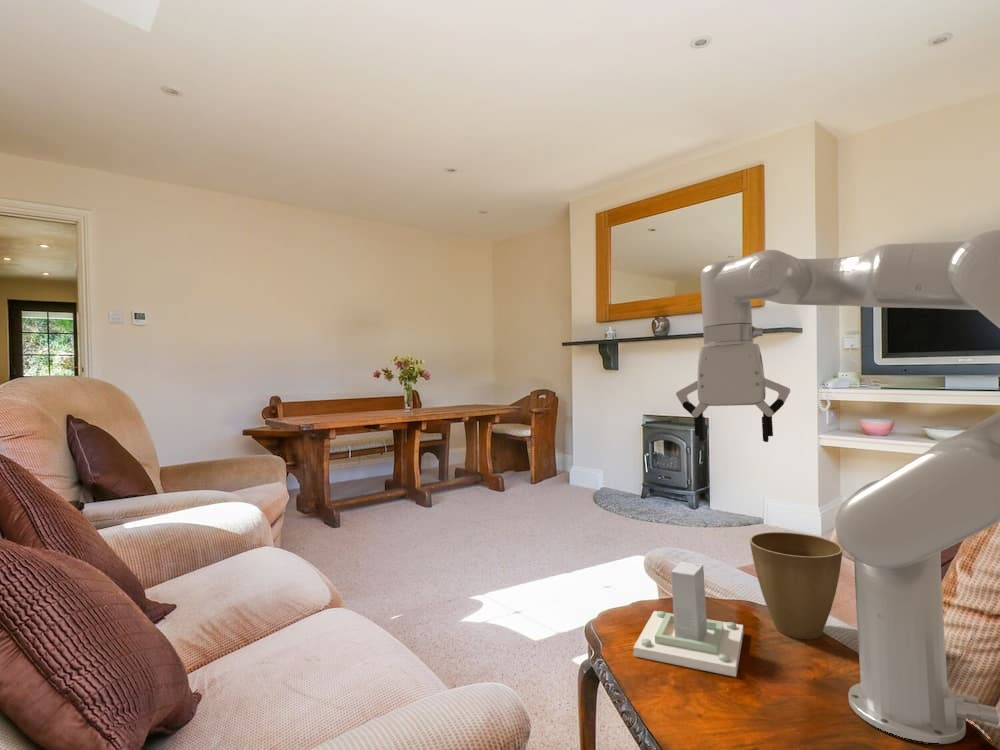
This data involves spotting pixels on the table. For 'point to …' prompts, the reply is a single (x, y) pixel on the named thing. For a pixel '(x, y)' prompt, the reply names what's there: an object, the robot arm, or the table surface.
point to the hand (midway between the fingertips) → (733, 440)
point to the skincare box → (689, 601)
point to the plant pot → (797, 580)
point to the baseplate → (691, 645)
